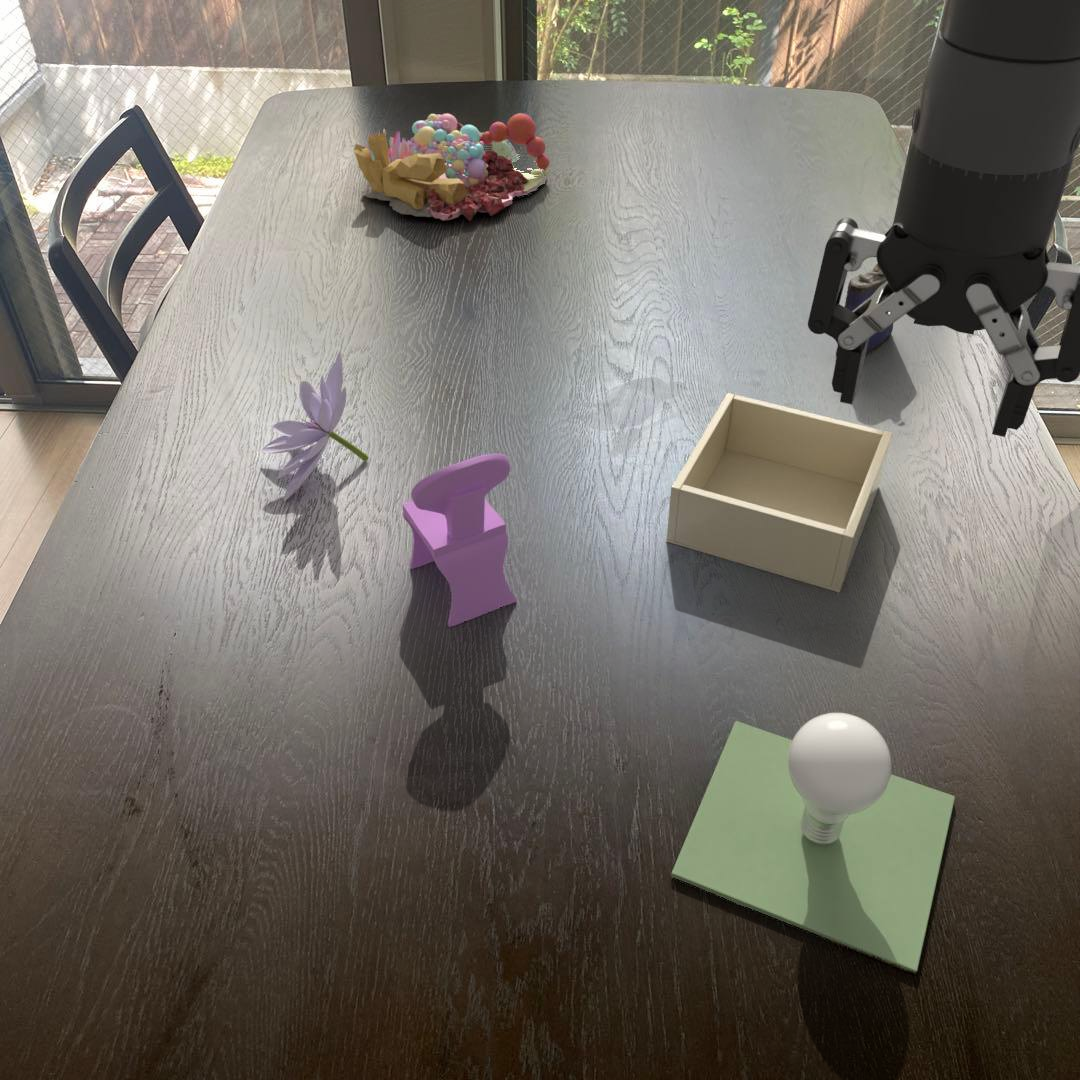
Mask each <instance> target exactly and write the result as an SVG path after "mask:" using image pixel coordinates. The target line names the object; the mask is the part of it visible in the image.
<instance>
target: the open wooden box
mask: <svg viewBox="0 0 1080 1080" xmlns="http://www.w3.org/2000/svg"><path fill="white" fill-rule="evenodd" d="M893 434H894V433H893V431H887V430H883V429H878V428H875V427H871V426H866V425H863V424H858V423H855V422H850V421H846V420H841V419H838V418H834V417H829V416H825V415H822V414H817V413H814V412H809V411H805V410H800V409H797V408H793V407H788V406H786V405H785V406H784V405H781V404H777V403H773V402H768V401H765V400H759V399H756V398H752V397H748V396H743V395H739V394H735V393H731V392H727V393H726V394H725V396H724V398H723V399H722V401H721V403H720V404H719V406H718V408H717V410H716V411H715V413H714V414H713V416H712V418H711V419H710V421H709V423H708V425H707V426H706V428H705V430H704V432H703V433H702V435H701V437H700V438H699V440H698V442H697V443H696V445H695V447H694V448H693V449H692V451H691V453H690V455H689V456H688V458H687V460H686V461H685V463H684V465H683V467H682V468H681V470H680V472H679V474H678V475H677V477H676V478H675V480H674V482H673V484H672V485H671V488H670V498H669V507H668V508H669V509H668V518H667V521H668V522H667V528H666V539H665V542H667V543H670V544H673V545H676V546H680V547H683V548H687V549H690V550H694V551H697V552H701V553H704V554H707V555H711V556H714V557H717V558H720V559H723V560H727V561H731V562H735V563H738V564H740V565H743V566H748V567H752V568H755V569H758V570H761V571H765V572H768V573H771V574H774V575H778V576H781V577H785V578H788V579H792V580H795V581H797V582H798V581H799V582H801V583H805V584H809V585H812V586H816V587H818V588H822V589H825V590H829V591H832V592H835V593H841V590H842V589H843V585H844V581H845V580H846V577H847V574H848V571H849V568H850V566H851V564H852V561H853V559H854V555H855V553H856V550H857V547H858V544H859V542H860V540H861V536H862V534H863V531H864V528H865V526H866V523H867V520H868V518H869V515H870V512H871V510H872V507H873V504H874V502H875V500H876V499H875V498H876V496H877V494H878V491H879V488H880V485H881V481H882V476H883V474H884V468H885V465H886V462H887V458H888V455H889V450H890V446H891V442H892V439H893Z"/></svg>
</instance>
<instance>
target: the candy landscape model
mask: <svg viewBox="0 0 1080 1080" xmlns="http://www.w3.org/2000/svg"><path fill="white" fill-rule="evenodd" d="M411 131H412V133H413V134H414V135H413V136H412V137H411V138H410V140H409V139H407V140H406V139H405V137H402V140H401V131H400V130H399V131H398V130H396V132H395V136H394V137H392V136H389V139H388V140H387V132H386V128H383V130H382V133H381V132H380V130H379V131H378V133H373V134H371V132H369V133H368V135H367V140H366V146H364V145H362V144H361V145H360V144H358V143H356V144H355V145H354V148H353V149H352V150H353V153H354V156H355V158H356V160H357V161H356V162H357V164H358V168H359V170H360V171H361V173H362V175H363V178H364V179H365V180H366V181H367V184H366V183H364V184H365V185H364V184H363V186H362V188H361V190H360V192H361V193H363V196H364V197H366V198H368V199H377V200H379V201H386V202H387V201H388V202H389V206H390V207H392V208H391V209H392V210H393V211H395V212H397V213H399V214H400V215H411V216H414V217H422V218H423V217H426V218H431V217H432V218H434V219H439V220H441V221H449V220H450V221H451V220H454V219H457V218H459V217H460V216H461V215H463V216H464V217H465V218H466V219H467V220H468V221H469V222H471V221H472V220H473V218H474V217H475V215H476V213H477V212H478V213H488V214H489V216H490V217H492V216H494V215H497V213H499V212H501V211H502V210H505V209H506V207H509V206H511V205H513V201H512V200H514V199H513V197H515V196H520V195H522V194H528V193H529V192H530V191H531V190H533V189H535V188H537V185H538V184H540V183H541V182H542V180H545V177H534V176H542V175H541V174H543V175H544V176H547V177H548V176H549V174H550V172H549V170H548V168H549V166H550V159H549V157H548V156H546V155H545V154H544V153H545V152H546V149H547V147H546V142H545V140H543V139H542V137H540V136H535V135H536V131H537V127H536V123H535V121H534V120H533V118H532V116H530V115H528V114H527V113H523V112H521V113H515V114H514V115H512V116H511V117H510V118H509V119H508V121H507V123H506V124H505V123H504V122H501V121H495V122H494V123H492V124H491V125H490V127H489V130H487V131H483V132H482V131H480V130H479V129H478V128H477V127H476V126H474V125H472V124H465V125H463V124H462V123H460V122H459V121H458V119H457V118H456V117H455V116H454V115H453V114H450V113H448V112H447V113H443V114H435V113H430V114H428V116H427V119H425V120H422V119H421V120H417V121H415V122H414V123H413V124H412V126H411ZM507 138H509V139H507ZM511 142H512V143H513V144H515V145H518V146H524V145H525V151H526V153H527V155H529V156H530V157H532V158H534V159H535V158H536V159H535V162H536V165H537V167H538V168H539V169H534V170H533V169H532V168H527V170H532V171H531V174H529V173H521V172H524V171H520V170H516V169H517V168H514V166H513V164H512V163H513V162H516V161H517V160H519V159H520V158H519V157H520V156H518V155H519V154H517V150H516V148H515V147H514V146H513V145H512V143H511ZM388 143H389V144H388ZM389 146H390V147H389ZM445 161H446V163H445ZM450 163H451V164H450ZM513 168H514V169H513ZM540 169H541V170H540ZM542 170H543V171H542ZM368 182H369V183H368ZM510 204H511V205H510Z"/></svg>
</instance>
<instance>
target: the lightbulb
mask: <svg viewBox="0 0 1080 1080" xmlns="http://www.w3.org/2000/svg"><path fill="white" fill-rule="evenodd" d="M791 740H792V742H791V745H790V748H789V752H788V771H789V775H790V778H791V781H792V783H793V785H794V787H795V789H796V790H797V792H798V793H799V795H800V796H801V797H802V798H803V803H804V806H805V807H804V811H803V815H802V819H801V830H802V832H803V834H804V835H805V836H806V837H807V838H808V839H809V840H811V841H813V842H815V843H818V844H831V843H833V842H835V841H836V840H837V839H838V838H839V836H840V834H841V830H842V827H843V824H844V820H846V819H847V818H848V817H849V816H850V815H852V814H856V813H859V812H862V811H864V810H866V809H868V808H870V807H871V806H872V805H874V804H875V803H876V802H877V801H878V800H879V799H880V798H881V797H882V795H883V794H884V792H885V791H886V789H887V787H888V784H889V782H890V778H891V774H892V770H893V763H892V755H891V752H890V749H889V746H888V744H887V741H886V740H885V738H884V737H883V735H882V734H881V733H880V732H879V730H878V729H877V728H876V727H875V726H874V725H872V724H871V723H870V722H868V721H867V720H865V719H864V718H862V717H860V716H858V715H854V714H851V713H848V712H847V713H846V712H828V713H824V714H823V713H822V714H820V715H817V716H815V717H813V718H811V719H810V720H808V721H807V722H805V723H804V724H803V725H802V726H801V727H800V728H798V730H797V732H796V733H795V734H794V735H793V738H792V739H791Z"/></svg>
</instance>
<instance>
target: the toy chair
mask: <svg viewBox="0 0 1080 1080" xmlns="http://www.w3.org/2000/svg"><path fill="white" fill-rule="evenodd" d="M510 472H511V464H510V460H509V458H508V456H507V455H505V454H502V453H487V454H482V455H478V456H477V455H476V456H474V457H470V458H467V459H465V460H462V461H459V462H456V463H453V464H450V465H448V466H445V467H443V468H440V469H438V470H436V471H435V472H433V473H431V474H429V475H427V476H425V477H424V478H423V479H421V480H419V482H417V483H416V484H415V485H414V486H413V487H412V489H411V493H410V497H411V501H408V502H405V503H402V506H401V507H402V517H403V519H404V520H405V521H406V523H407V524H408V525H409V527H410V528H411V531H412V537H413V538H412V539H413V540H412V541H413V542H412V544H413V545H412V551H411V556H410V563H409V568H410V569H411V570H414V569H417V568H419V567H422V566H426V565H427V564H431V563H433V562H434V563H435V565H436V567H437V569H438V570H439V572H440V573H441V574H442V575H443V576H444V578H445V579H446V581H447V583H448V584H449V585H448V586H449V588H450V593H451V604H450V609H449V616H448V620H447V626H448V627H449V628H452V627H455V626H458V625H460V624H463V623H465V622H464V621H466V622H468V621H471V620H473V619H476V618H479V617H480V616H483V614H484V615H486V614H488V612H489V613H491V612H494V611H496V610H499V609H501V608H500V607H502V608H504V607H506V605H507V606H509V605H512V604H514V603H516V602H517V601H518V599H517V598H516V596H515V595H514V593H513V592H512V590H511V589H510V587H509V585H508V583H507V581H506V579H505V575H504V563H505V558H506V553H507V550H508V549H507V548H508V544H509V537H508V534H507V524H506V522H505V521H504V520H503V519H502V517H501V515H500V514H499V513H498V512H497V511H496V510H495V508H494V507H493V506H491V504H490V503H489V501H488V499H486V496H487V495H488V494H489V493H490V492H491V491H492V490H493V489H494V488H495V487H497V486H498V485H500V484H501V483H503V482H504V481H505V480H506V479H507V478H508V477H509V474H510ZM503 606H504V607H503ZM451 626H452V627H451Z"/></svg>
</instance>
